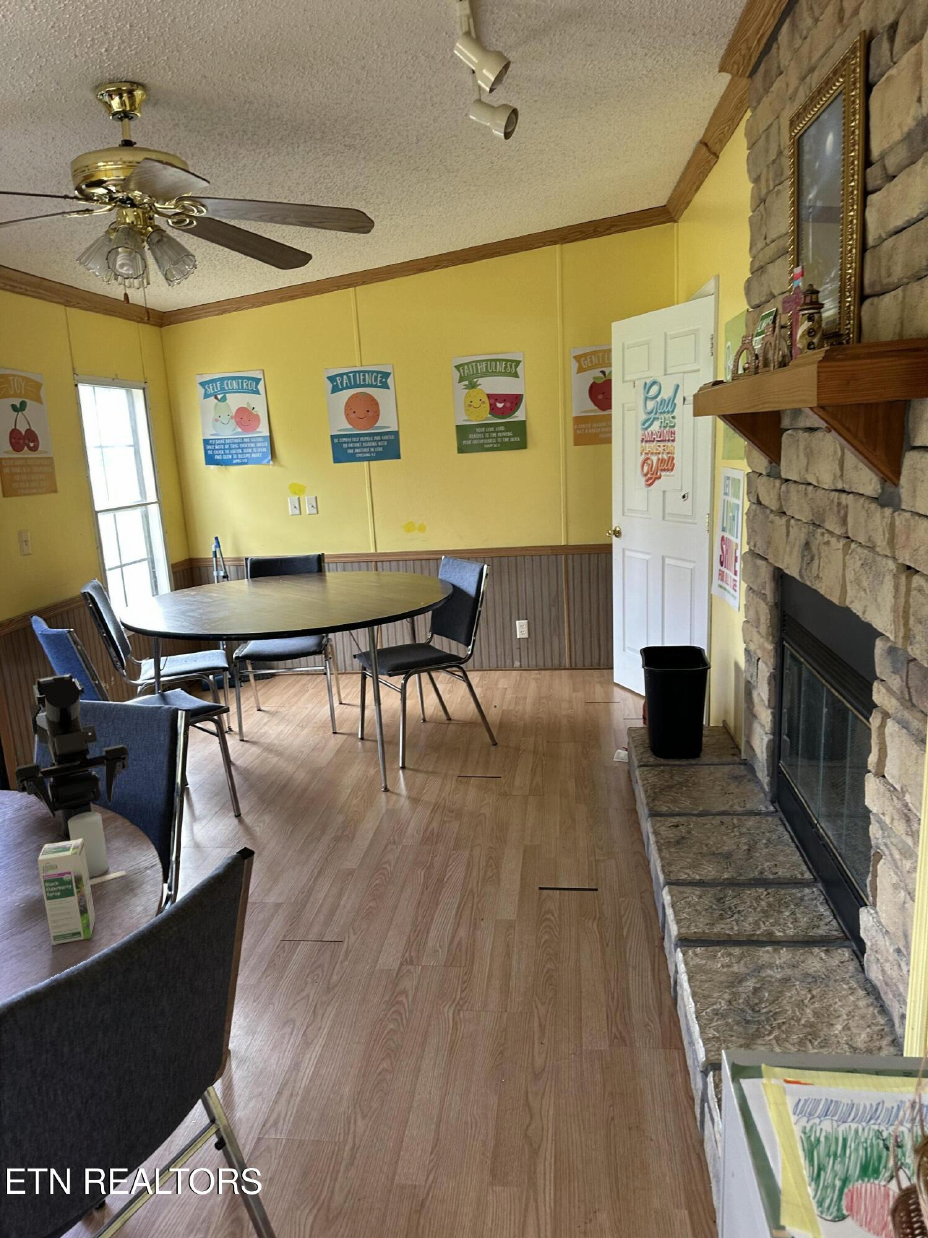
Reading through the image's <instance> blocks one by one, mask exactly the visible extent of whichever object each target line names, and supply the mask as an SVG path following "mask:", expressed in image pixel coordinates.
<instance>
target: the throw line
mask: <svg viewBox="0 0 928 1238" xmlns="http://www.w3.org/2000/svg"><path fill="white" fill-rule="evenodd" d="M126 875H127V874H126V871H125V870H121V871H118V872H114V873H111V874H106V875H104V876H100V877H95V878H93V879H89V880H90V886H94V885H96V884H100V883H103V882H108V881H110V880H113V879H114V880H115V879H118V878H122V877H125V876H126Z"/></svg>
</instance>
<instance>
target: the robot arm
mask: <svg viewBox="0 0 928 1238" xmlns="http://www.w3.org/2000/svg"><path fill="white" fill-rule="evenodd" d="M32 688H33V689H32V690H33V697H34V701H33V702H32V704H31V705H30V707H29V709H28V712H29V719H30V726H31V730H32V735H33V736H36V739H37V741H38V743H40V744H42V745H46V746H48V748H49V749H48V750H49V752H50V755H51V758H52V762H51V764H50V766H47V767H44V768H40V767H41V766H40V763H39V761H38V762H33V763H28V764H24V765H19V766H17V767H16V769H15V770H14V774H15V775H14V776H15V781H16V787H17V792H18V793H21V794H23V793H26V795H27V796H32V795H33V796H34V797H35V798H36V799H37V800H39V802H41V803H42V805H43V806H44V807H45V809H46V810H47V812H48V813H49V815H50V816H51V818H53V819H55V818H56V813H55V812H58V811H59V812H60V813H59V814H60V821H61V826H62V828H59V829H57V830H56V834H57V835H59V836H60V837H62V838H64V839H65V840H66V841H71V839H70V833H69V826H68V820H69V819H70V818H72V817H74V816H76V815H78V814H82V813H86V812H94V810H93V805H92V803H94V802H100V799H101V798H102V790H101V789H102V788H101V777H99V776H98V775H97V774H96V771H92V769H95V768H102V767H104V778H105V779H104V781H105V790H106V801H107V803H108V805H111V804H112V800H113V798H112V797H113V790H114V784H115V781H116V779H117V778H116V777H117V776H120V775H122V773H123V771H124V770H127V769H128V768H129V761H130V760H129V758H130V754H129V751H128V748H127V746H126V745H124V744H118V745H113V746H108V747H104V748H103V752H102V753H103V754H102V755H99V756H98V755H97V756H94V757H89V755H90V749H89V745H92V744H96V743H97V742H98V738H97V733H96V728H95V725H94V724H90V725H87V726H83V727H82V722H81V717H80V711H81V698H82V696H83V695H84V694H85V688H84V686H83V685H82V683H81V682H79V680H78V679H77V677H74V678H73V675H72V673H70V672H69V673H64V674H58V675H52V676H47V677H41V678H36V680H35V684H34V685H32ZM43 709H45V711H42V710H43ZM47 779H50V781H47V784H46V780H47Z"/></svg>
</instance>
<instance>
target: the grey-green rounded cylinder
mask: <svg viewBox="0 0 928 1238" xmlns="http://www.w3.org/2000/svg"><path fill="white" fill-rule="evenodd" d="M102 818H103V817H102V814H101V813H99V812H97V811H93V812H86V813H82V814H78V815H76V816H74V817H72V818H70V819H69V820H68V826H69V833H70V839H71V841H73V840H78V839H81V838H83V842H84V849H85V855H86V862H87V868H88V874H89V879H91V878H94V877H93V876H95V877H98V876H100V875H102V874H105V872H107V871H108V869H109V860H108V859H109V858H108V852H107V846H106V840H105V839H106V838H105V833H104V826H103V819H102Z"/></svg>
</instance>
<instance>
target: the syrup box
mask: <svg viewBox="0 0 928 1238" xmlns="http://www.w3.org/2000/svg"><path fill="white" fill-rule="evenodd" d="M37 865H38V872H39V873H38V874H39V877H40V883H41V888H42V889H41V890H42V895H43V898H44V904H45V905H44V906H45V911H46V917H47V922H48V927H49V928H48V929H49V937H50V942H51V945H52V946H56V945H59V944H65V943H71V942H76V941H81V940H89V939H91V938H92V933H93V930H94V927H95V926H94V925H95V923H96V915H95V909H94V900H93V895H92V894H93V893H92V888H91V885H90V880H91V879H90V878H89V874H88V868H87V862H86V855H85V849H84V842H83V838H81V839H78V840H73V841H68V840H66V841H60V842H55V843H46V844H44V845H43V847H42V849H41V851H40V853H39V856H38V858H37Z"/></svg>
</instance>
